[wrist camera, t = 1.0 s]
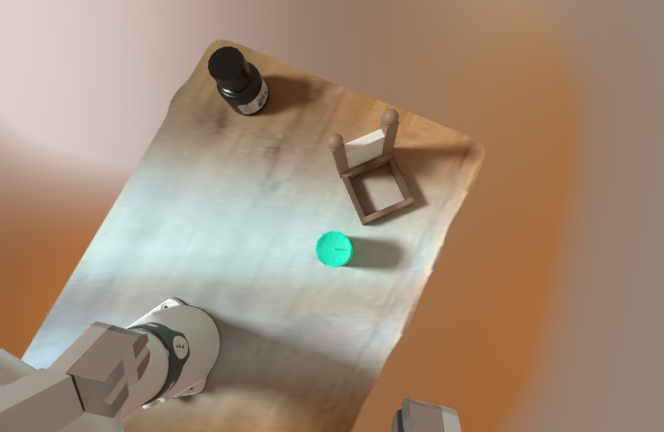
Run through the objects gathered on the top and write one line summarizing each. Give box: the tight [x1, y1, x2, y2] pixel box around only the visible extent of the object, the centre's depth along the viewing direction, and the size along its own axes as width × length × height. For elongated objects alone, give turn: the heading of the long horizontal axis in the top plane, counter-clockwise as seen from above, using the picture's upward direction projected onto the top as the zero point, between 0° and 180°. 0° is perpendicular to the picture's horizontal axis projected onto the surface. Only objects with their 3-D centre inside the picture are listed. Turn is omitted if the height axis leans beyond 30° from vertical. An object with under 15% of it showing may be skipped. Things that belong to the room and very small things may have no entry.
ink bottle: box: [208, 46, 269, 115], centre depth 64 cm, size 10×9×12 cm
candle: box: [316, 231, 354, 267], centre depth 57 cm, size 6×6×12 cm
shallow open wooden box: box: [341, 152, 415, 225], centre depth 63 cm, size 10×10×3 cm
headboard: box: [328, 109, 399, 178], centre depth 56 cm, size 11×2×18 cm, turn 113°
